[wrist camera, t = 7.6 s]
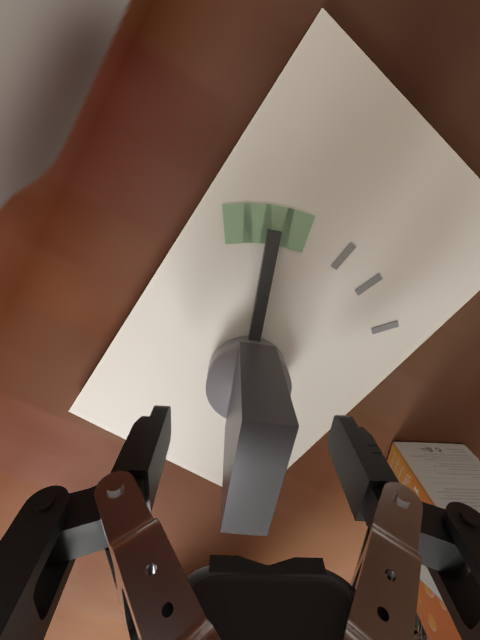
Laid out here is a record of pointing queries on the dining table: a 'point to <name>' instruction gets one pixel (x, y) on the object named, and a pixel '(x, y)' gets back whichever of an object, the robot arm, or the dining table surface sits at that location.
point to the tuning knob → (253, 415)
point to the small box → (437, 489)
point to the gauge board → (302, 256)
